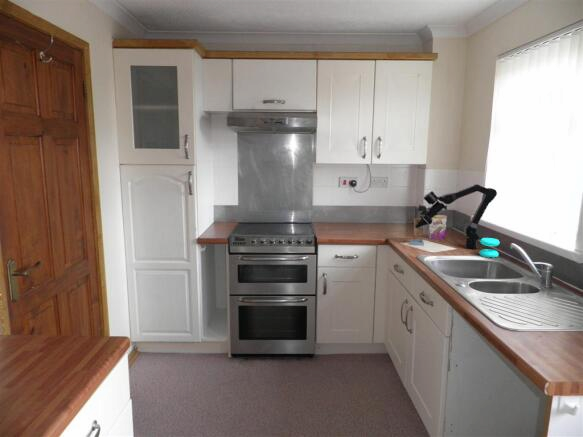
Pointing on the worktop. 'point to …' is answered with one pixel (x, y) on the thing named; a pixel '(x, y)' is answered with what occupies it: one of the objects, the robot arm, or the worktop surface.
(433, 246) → the white rectangular sheet
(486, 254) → the pair of cyan ovals
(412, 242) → the socket
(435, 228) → the candy bar box
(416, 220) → the walnut column
